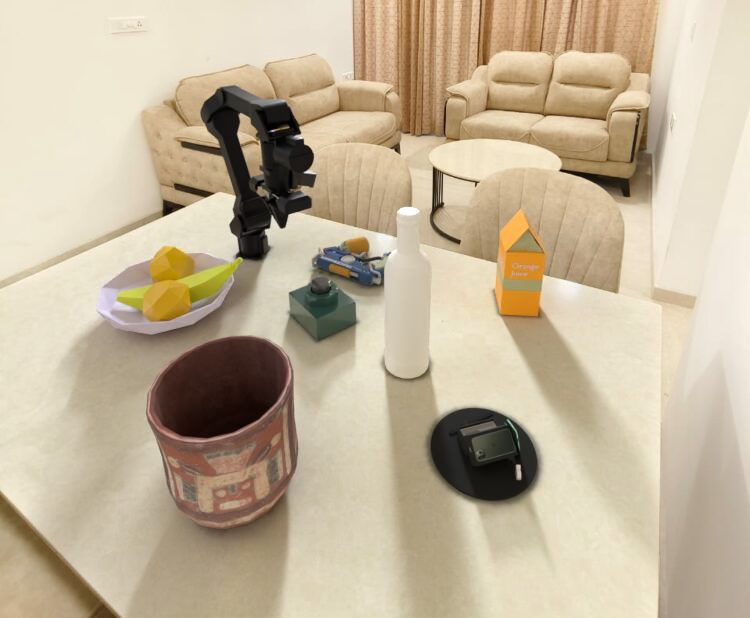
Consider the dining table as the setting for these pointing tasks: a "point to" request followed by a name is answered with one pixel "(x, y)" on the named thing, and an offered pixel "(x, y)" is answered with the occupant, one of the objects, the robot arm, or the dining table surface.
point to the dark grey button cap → (320, 285)
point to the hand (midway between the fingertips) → (282, 227)
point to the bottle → (407, 300)
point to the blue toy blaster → (352, 261)
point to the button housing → (322, 310)
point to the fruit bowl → (166, 291)
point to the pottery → (226, 429)
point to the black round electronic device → (483, 454)
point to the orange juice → (519, 268)
